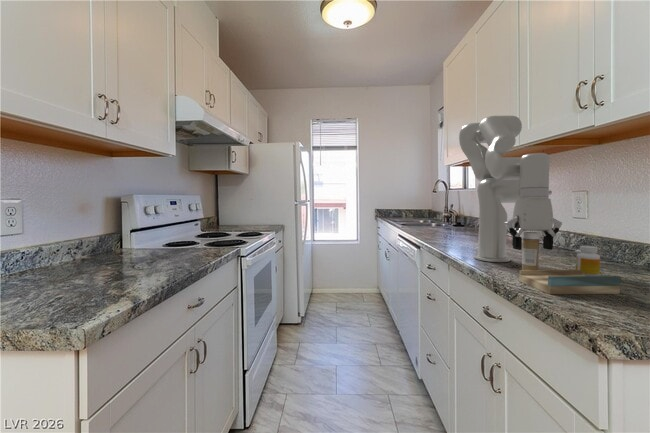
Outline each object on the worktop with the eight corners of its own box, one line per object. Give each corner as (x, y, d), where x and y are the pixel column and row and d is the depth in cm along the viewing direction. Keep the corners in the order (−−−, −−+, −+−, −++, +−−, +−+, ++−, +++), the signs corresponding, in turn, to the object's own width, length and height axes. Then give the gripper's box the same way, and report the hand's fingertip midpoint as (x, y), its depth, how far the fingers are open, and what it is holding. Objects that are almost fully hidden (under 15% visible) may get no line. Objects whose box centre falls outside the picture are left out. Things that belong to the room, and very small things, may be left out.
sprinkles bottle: (540, 275, 95) (542, 232, 94) (534, 277, 93) (536, 233, 92) (524, 272, 99) (526, 231, 98) (518, 274, 96) (519, 232, 96)
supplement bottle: (604, 281, 88) (606, 248, 88) (585, 281, 88) (587, 248, 88) (588, 276, 94) (590, 245, 93) (570, 276, 94) (572, 245, 93)
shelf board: (518, 280, 89) (519, 266, 88) (579, 280, 89) (580, 265, 89) (549, 294, 77) (550, 277, 76) (619, 293, 77) (620, 276, 77)
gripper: (551, 194, 98) (550, 247, 98) (498, 194, 97) (497, 247, 98) (571, 193, 90) (569, 250, 91) (513, 193, 90) (512, 251, 90)
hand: (532, 249), depth 94 cm, fingers open, 9 cm apart
